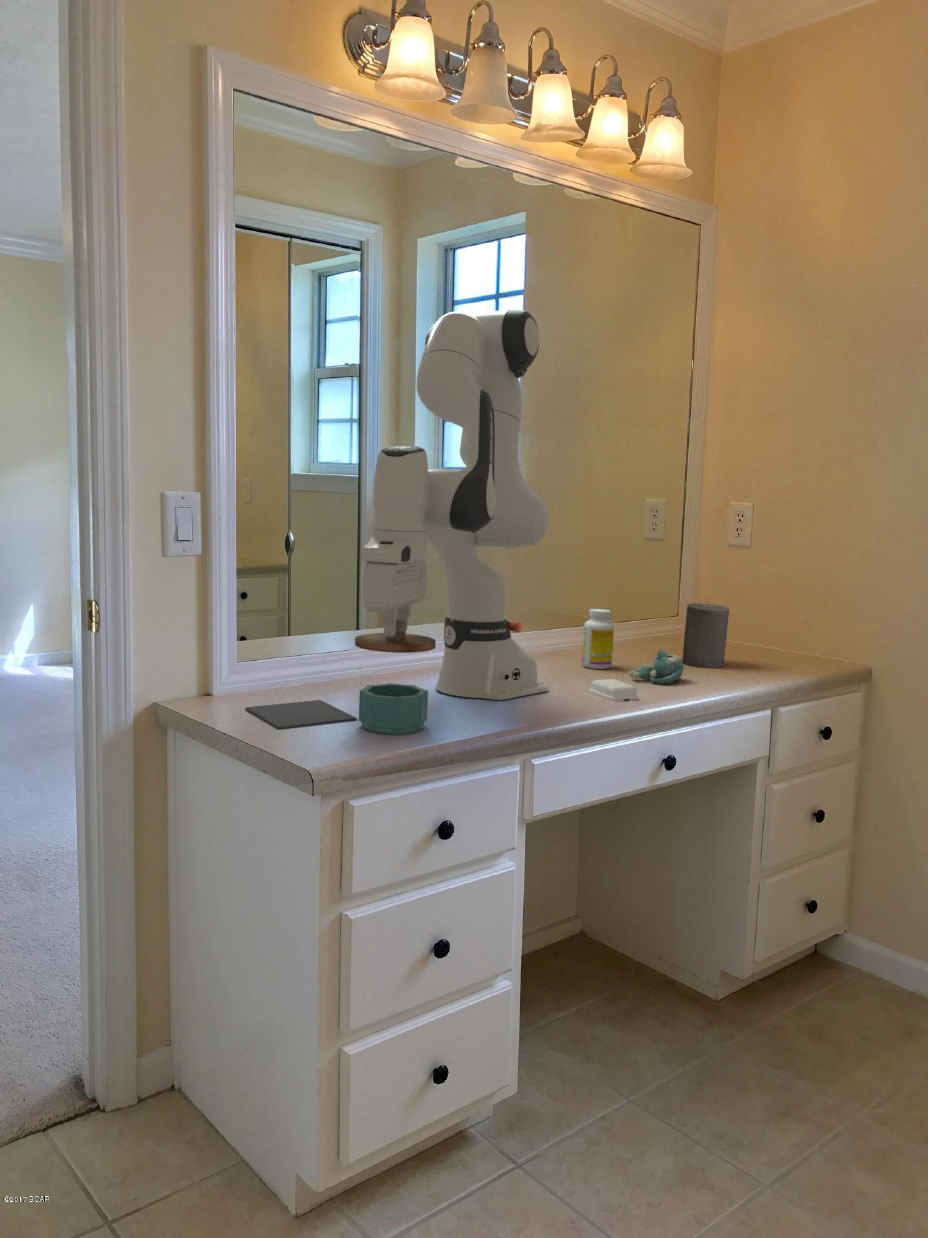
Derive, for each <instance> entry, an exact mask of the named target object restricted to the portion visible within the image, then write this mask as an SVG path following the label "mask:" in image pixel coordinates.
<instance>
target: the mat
mask: <svg viewBox="0 0 928 1238" xmlns="http://www.w3.org/2000/svg"><path fill="white" fill-rule="evenodd" d="M245 711H247V712H249V713H250V714H251V715H254V716H255V717H257V718H259V719H260V720H262V721H264V722H265V723H267V724H269V725H270V726H272V727H274V728H276V729H277V730H282V729H283V730H284V729H291V728H300V727H301V728H302V727H309V726H319V725H325V724H326V725H327V724H336V723H343V722H353V721H357V720H358V717H356V716H354V715H352V714H350V713H348V712H346V711H343V710H342V709H340V708H337V707H336V706H334V705H331V704H330V703H327V702H325V701H323V700H322V699H315V700H305V701H295V702H286V703H285V702H284V703H275V704H266V705H264V704H263V705H257V706H256V705H254V706H246V707H245Z"/></svg>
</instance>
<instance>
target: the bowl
mask: <svg viewBox="0 0 928 1238" xmlns="http://www.w3.org/2000/svg"><path fill="white" fill-rule="evenodd" d="M428 695H429V691H428V689H424V688H422V687H419V686H416V685H412V684H403V683H402V684H400V683H392V682H391V683H388V682H387V683H381V684H380V683H378V684H370V685H369V684H368V685H366V686H365V687H364V688H361V690H359V700H358V701H359V702H358V705H359V706H358V721H359V722H361V728H362V729H364V730H365V731H366V732H370V733H374V734H381V735H387V736H388V735H391V736H392V735H393V736H396V735H397V736H401V735H409V734H410V735H411V734H416V733H419V732H421V731H423V730H424V728H425V723H426V721H427V720H428V704H429V703H428V702H429V701H428V700H429V697H428Z"/></svg>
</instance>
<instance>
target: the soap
mask: <svg viewBox="0 0 928 1238" xmlns="http://www.w3.org/2000/svg"><path fill="white" fill-rule="evenodd" d="M587 692H588V693H590V694H591V695H594V696H596V697H598V698H602V699H604V700H607V701H610V702H624V701H625V700H629V701H634V700H639V695H638V694H637V692H638V691H637V689H636V687H635V686H633V685H632V684H628V683H625V682H624V681H623V682H622V681H620V680H617V679H615V678H609V679H608V678H606V679H595V680H592V681H591V683H590V688H588V691H587Z"/></svg>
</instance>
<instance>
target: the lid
mask: <svg viewBox="0 0 928 1238" xmlns="http://www.w3.org/2000/svg"><path fill="white" fill-rule="evenodd" d="M396 625H398V630H397V631H398V633H397V635H395V636H385V635H384V632H376V633H375V632H374V633H373V632H372V633H364V634H360V635H357V636H355V638H354V645H355V647H357V648H359V649H362V650H366V651H367V650H368V651H373V652H382V653H394V654H395V653H400V654H401V653H402V654H403V653H404V654H405V653H408V654H409V653H411V654H412V653H422V652H423V653H424V652H430V651H432V650H435V649H436V643H437V642H436V641H437V640H436V639H435V638H432V637H430V636H427V635H420V634H414V633H407V631H406V621H404V620H396Z"/></svg>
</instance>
